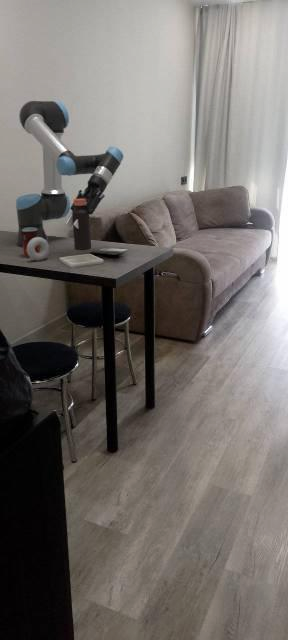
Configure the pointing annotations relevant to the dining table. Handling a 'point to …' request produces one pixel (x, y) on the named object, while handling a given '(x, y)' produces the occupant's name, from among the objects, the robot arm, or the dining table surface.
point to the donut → (33, 244)
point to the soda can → (29, 238)
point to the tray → (81, 260)
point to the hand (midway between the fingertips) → (72, 226)
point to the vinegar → (81, 225)
